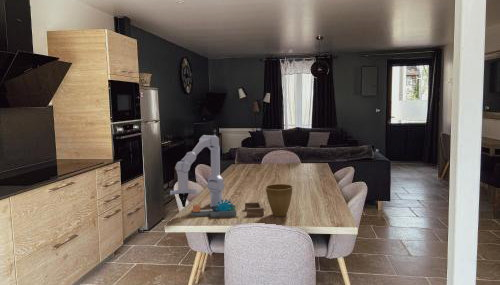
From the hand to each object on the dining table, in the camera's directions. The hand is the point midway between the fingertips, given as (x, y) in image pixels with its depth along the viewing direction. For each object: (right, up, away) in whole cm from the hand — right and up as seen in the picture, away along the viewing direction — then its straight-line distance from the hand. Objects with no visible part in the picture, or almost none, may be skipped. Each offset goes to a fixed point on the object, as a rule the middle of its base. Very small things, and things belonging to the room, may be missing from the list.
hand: (184, 206), depth 211 cm
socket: (+17, -5, +2) cm, 17 cm away
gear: (+23, -5, +3) cm, 24 cm away
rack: (+39, -4, +4) cm, 40 cm away
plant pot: (+54, -4, -2) cm, 54 cm away
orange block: (+11, -5, +1) cm, 12 cm away
